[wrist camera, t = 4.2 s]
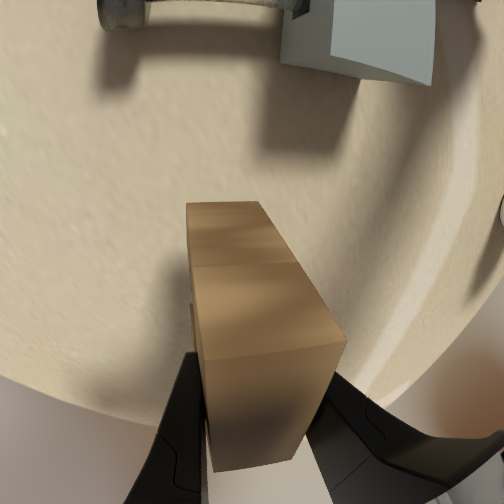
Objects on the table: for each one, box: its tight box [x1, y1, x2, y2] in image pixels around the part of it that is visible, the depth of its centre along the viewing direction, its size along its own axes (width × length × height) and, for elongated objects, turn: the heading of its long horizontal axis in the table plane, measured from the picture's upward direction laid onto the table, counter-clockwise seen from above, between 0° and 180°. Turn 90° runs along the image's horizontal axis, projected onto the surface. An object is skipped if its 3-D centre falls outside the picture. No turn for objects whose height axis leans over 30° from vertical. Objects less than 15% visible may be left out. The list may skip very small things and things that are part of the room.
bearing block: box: [279, 0, 435, 86], centre depth 12 cm, size 6×8×7 cm
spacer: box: [186, 201, 347, 473], centre depth 11 cm, size 3×7×8 cm, turn 175°
